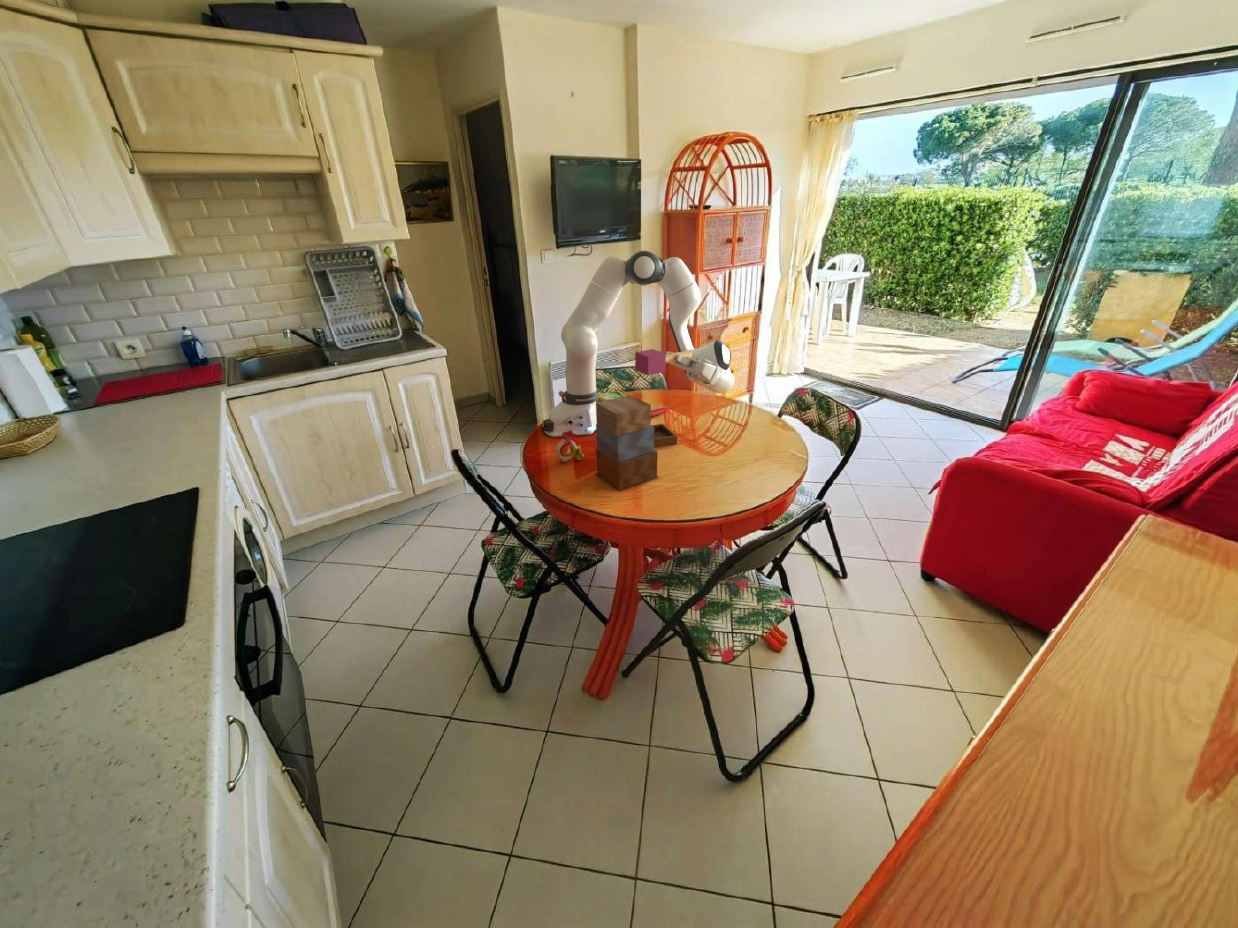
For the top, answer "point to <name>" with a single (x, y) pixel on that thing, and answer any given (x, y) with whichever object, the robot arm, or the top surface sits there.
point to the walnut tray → (663, 436)
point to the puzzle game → (609, 396)
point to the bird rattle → (564, 449)
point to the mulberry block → (655, 360)
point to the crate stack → (625, 442)
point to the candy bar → (658, 410)
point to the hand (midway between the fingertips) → (673, 356)
